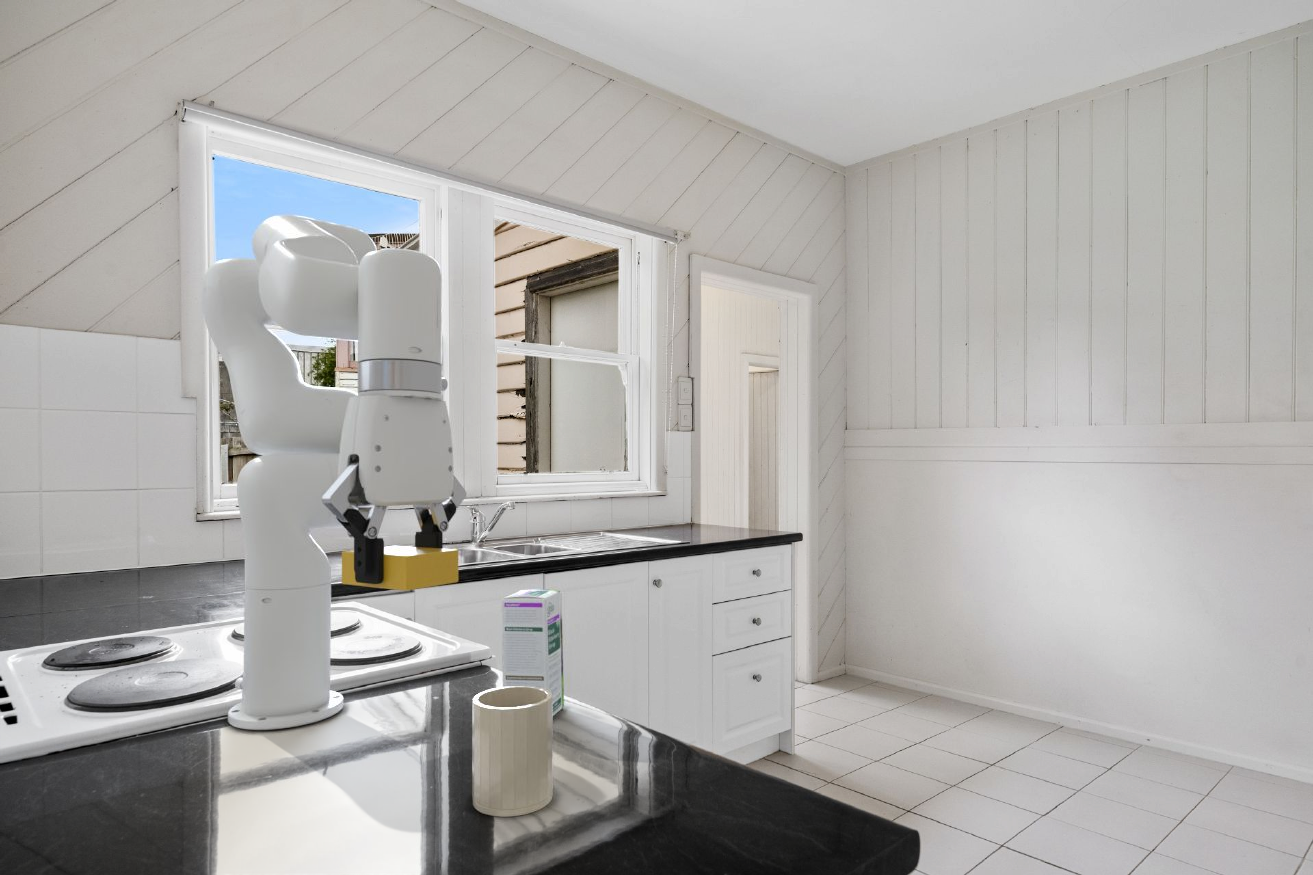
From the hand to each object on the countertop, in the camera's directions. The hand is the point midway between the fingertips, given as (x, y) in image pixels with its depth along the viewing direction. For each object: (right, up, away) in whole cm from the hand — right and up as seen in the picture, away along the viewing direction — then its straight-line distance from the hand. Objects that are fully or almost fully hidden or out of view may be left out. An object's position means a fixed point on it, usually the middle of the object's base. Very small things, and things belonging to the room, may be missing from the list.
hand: (400, 576), depth 70 cm
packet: (0, -1, 0) cm, 1 cm away
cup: (+11, -19, -3) cm, 22 cm away
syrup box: (+9, -21, +21) cm, 31 cm away
